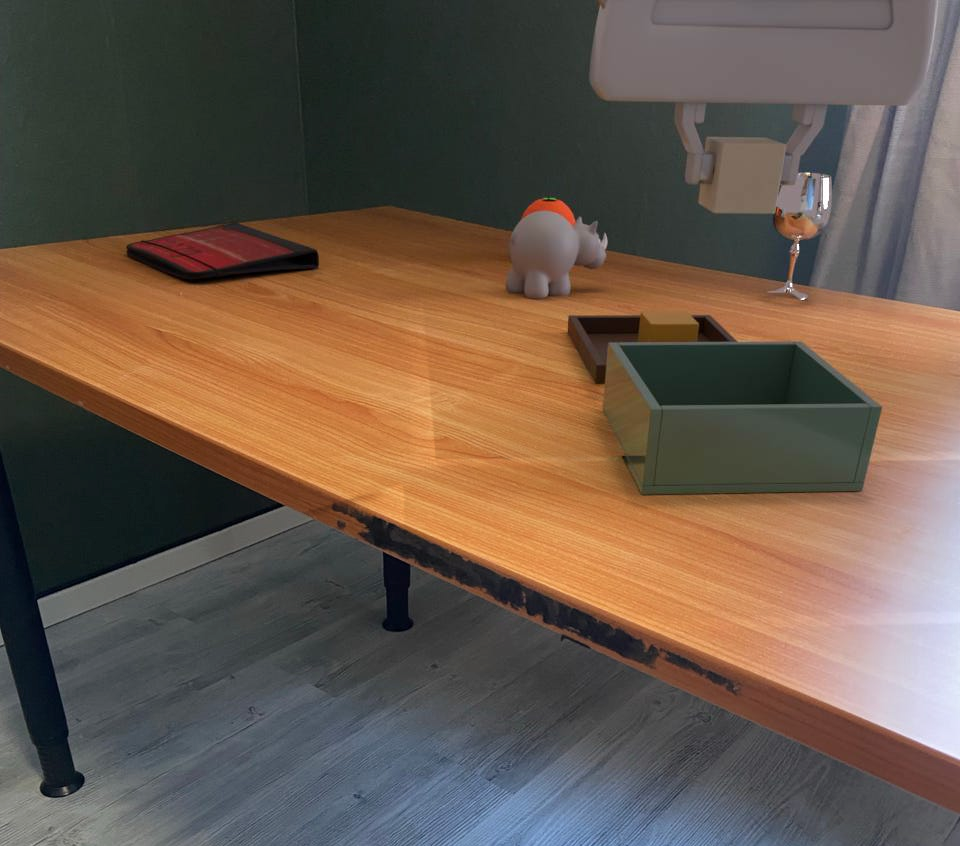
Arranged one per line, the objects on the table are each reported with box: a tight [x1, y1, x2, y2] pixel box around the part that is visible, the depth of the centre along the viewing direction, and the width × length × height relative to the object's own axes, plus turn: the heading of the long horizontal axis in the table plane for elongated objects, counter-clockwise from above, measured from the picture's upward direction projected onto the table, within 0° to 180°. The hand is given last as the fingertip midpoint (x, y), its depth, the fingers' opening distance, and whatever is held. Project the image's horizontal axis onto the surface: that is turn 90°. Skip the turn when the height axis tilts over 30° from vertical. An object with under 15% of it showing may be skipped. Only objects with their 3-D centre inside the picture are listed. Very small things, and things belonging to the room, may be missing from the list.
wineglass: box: [766, 171, 833, 301], centre depth 105 cm, size 6×6×12 cm
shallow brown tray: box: [567, 314, 739, 385], centre depth 86 cm, size 13×15×2 cm
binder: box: [125, 221, 320, 280], centre depth 119 cm, size 16×2×21 cm
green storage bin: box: [602, 340, 883, 496], centre depth 68 cm, size 14×14×6 cm
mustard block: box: [638, 310, 699, 342], centre depth 83 cm, size 4×4×4 cm
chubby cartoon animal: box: [504, 211, 608, 300], centre depth 105 cm, size 7×12×8 cm, turn 119°
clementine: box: [520, 196, 576, 226], centre depth 122 cm, size 8×7×7 cm
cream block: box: [697, 136, 787, 215], centre depth 64 cm, size 4×4×4 cm
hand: (739, 183), depth 64 cm, fingers closed on cream block, 4 cm apart
